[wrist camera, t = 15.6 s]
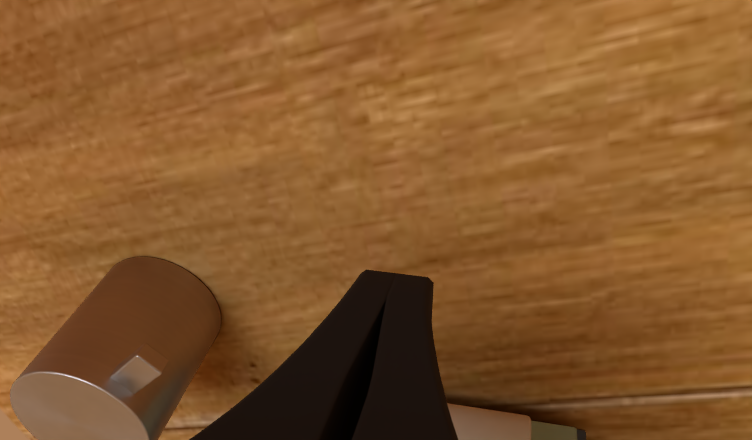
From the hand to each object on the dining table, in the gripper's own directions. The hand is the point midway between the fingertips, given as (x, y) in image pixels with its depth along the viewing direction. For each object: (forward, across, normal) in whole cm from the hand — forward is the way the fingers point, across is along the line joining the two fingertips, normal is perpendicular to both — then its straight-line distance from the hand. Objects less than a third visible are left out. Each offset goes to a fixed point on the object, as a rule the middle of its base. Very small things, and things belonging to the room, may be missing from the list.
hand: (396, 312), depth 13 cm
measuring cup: (+8, +11, +9) cm, 16 cm away
